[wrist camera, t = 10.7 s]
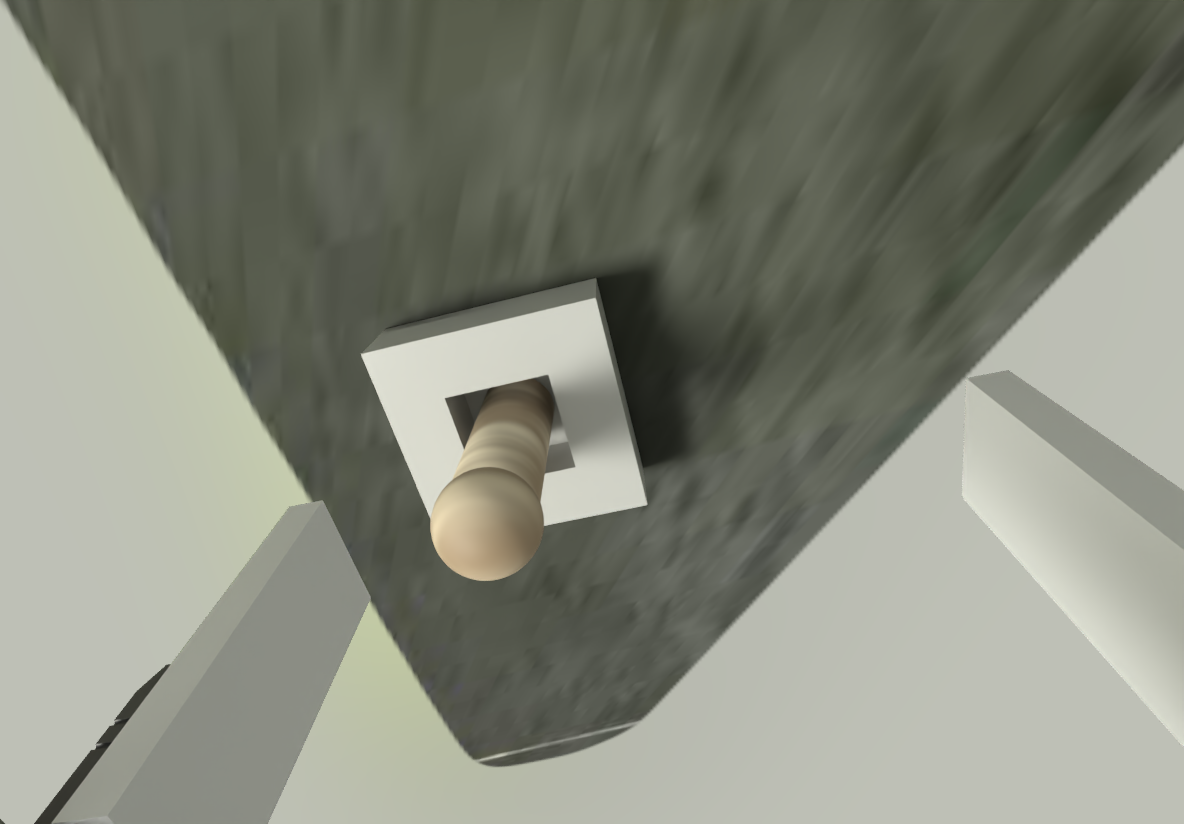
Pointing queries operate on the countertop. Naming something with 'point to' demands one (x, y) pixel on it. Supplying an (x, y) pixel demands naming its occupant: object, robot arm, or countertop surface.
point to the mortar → (505, 355)
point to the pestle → (497, 486)
